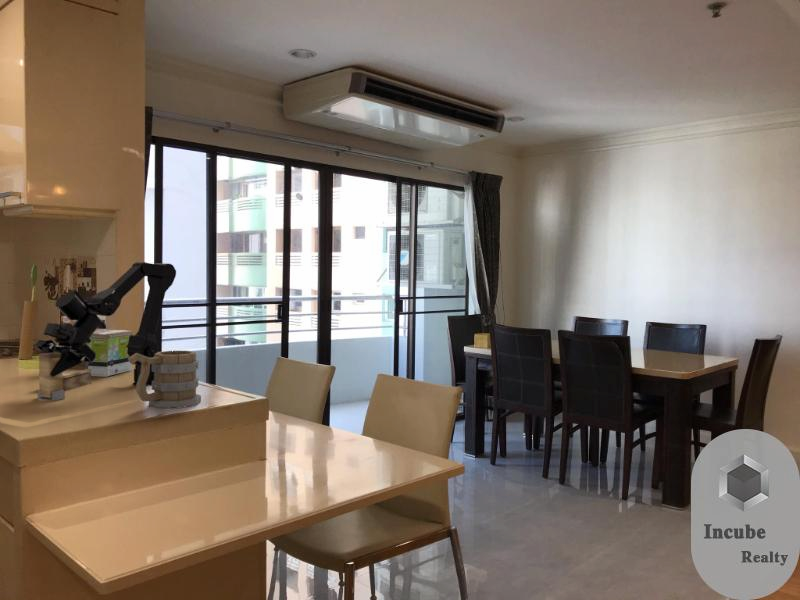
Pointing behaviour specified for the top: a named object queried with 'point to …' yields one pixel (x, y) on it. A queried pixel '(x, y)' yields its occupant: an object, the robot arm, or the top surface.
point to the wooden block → (45, 379)
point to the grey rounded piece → (53, 396)
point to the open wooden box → (76, 381)
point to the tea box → (109, 352)
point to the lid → (76, 370)
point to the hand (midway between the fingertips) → (46, 375)
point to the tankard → (169, 378)
